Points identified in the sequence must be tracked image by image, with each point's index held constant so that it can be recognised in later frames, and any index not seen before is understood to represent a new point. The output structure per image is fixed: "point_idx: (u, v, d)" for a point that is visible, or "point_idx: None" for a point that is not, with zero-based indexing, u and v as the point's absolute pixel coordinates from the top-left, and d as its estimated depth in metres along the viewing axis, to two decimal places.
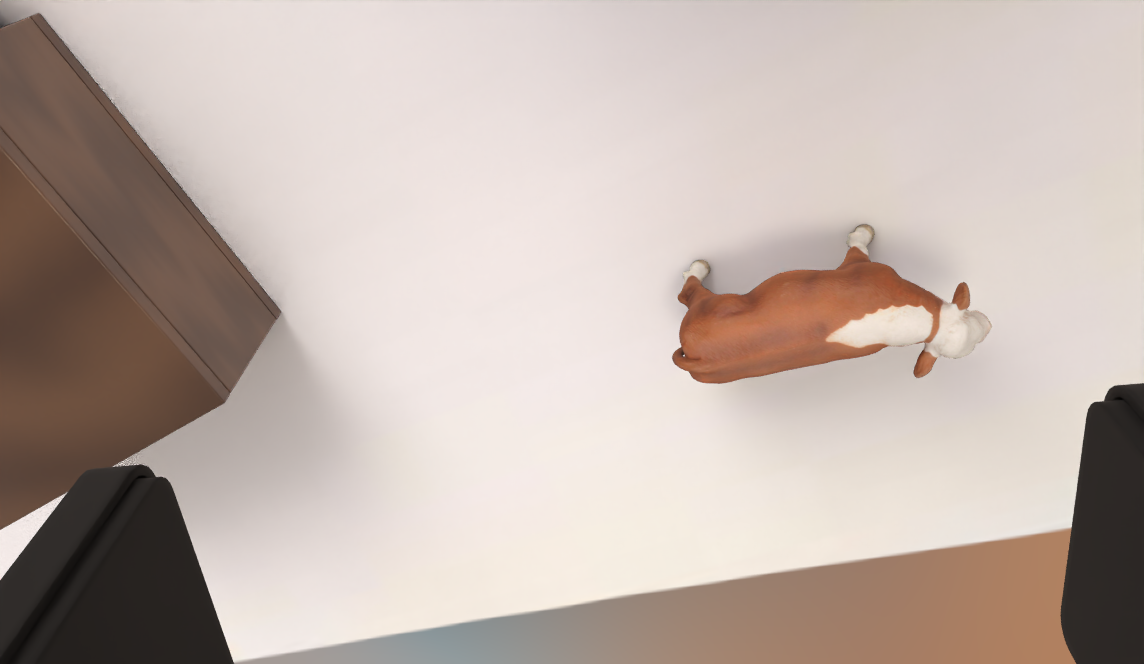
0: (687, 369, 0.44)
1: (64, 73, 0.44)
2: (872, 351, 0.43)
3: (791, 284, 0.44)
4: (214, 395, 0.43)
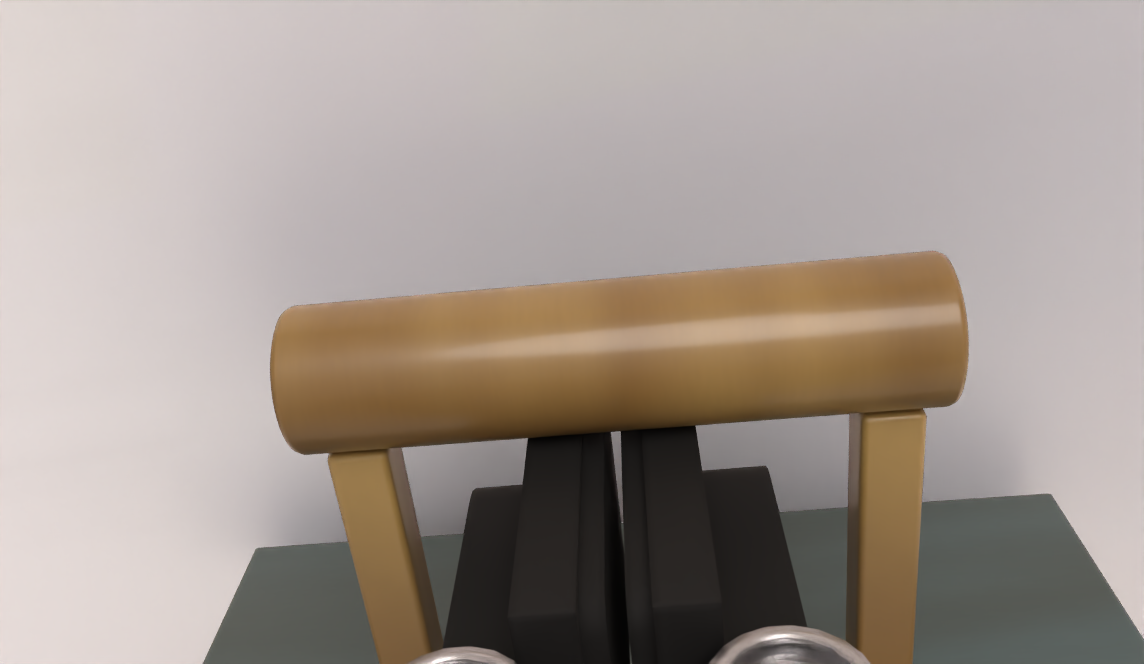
0: None
1: None
2: None
3: None
4: None
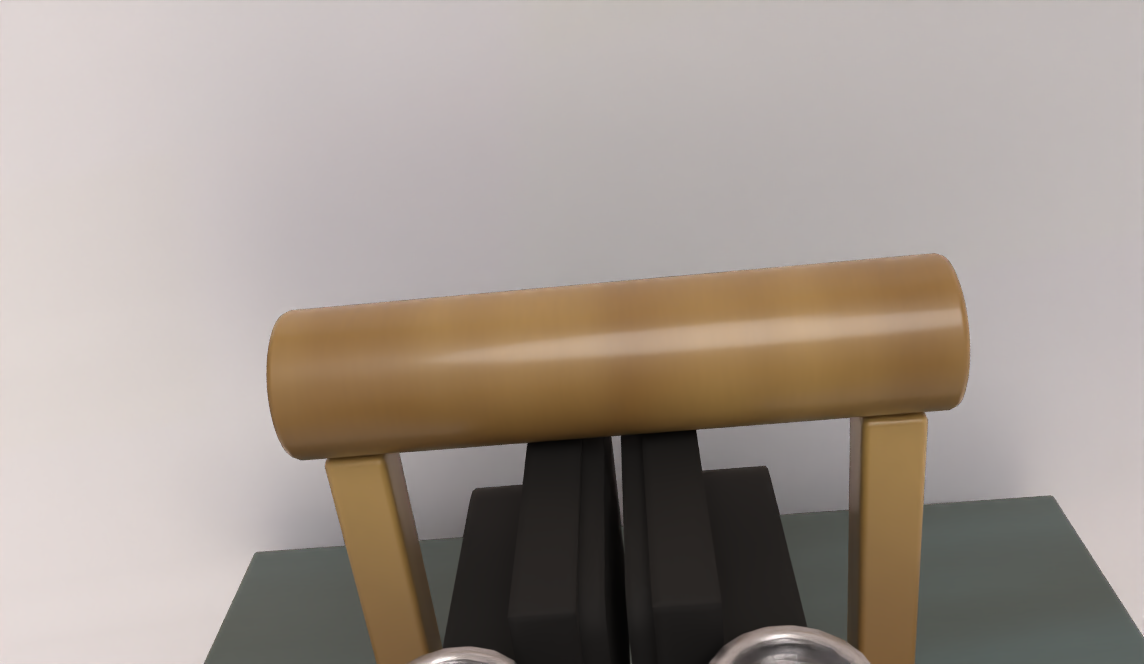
0: None
1: None
2: None
3: None
4: None
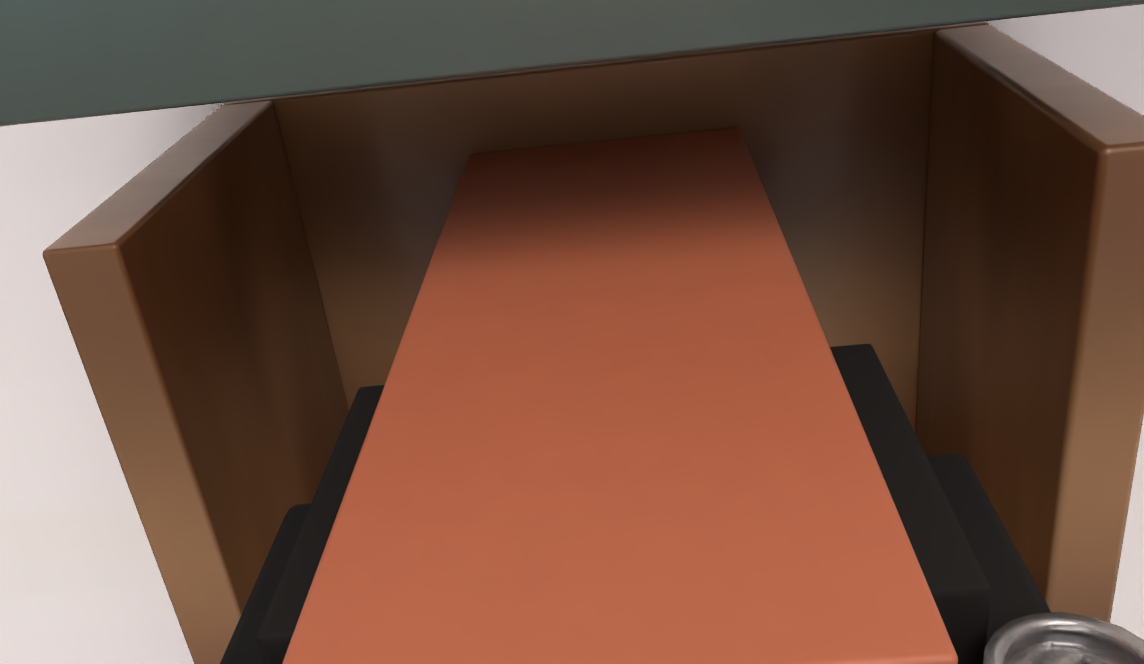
0: None
1: None
2: None
3: None
4: None
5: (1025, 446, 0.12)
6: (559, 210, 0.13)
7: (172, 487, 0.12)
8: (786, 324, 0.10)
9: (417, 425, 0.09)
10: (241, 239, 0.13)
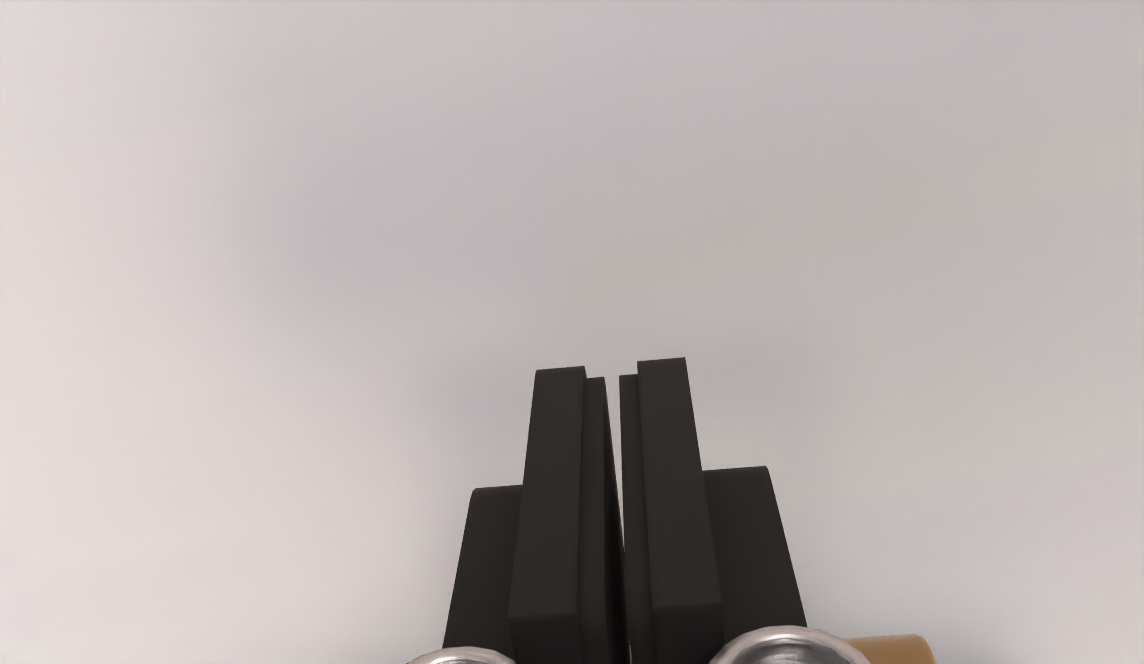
0: None
1: None
2: None
3: None
4: None
5: None
6: None
7: None
8: None
9: None
10: None
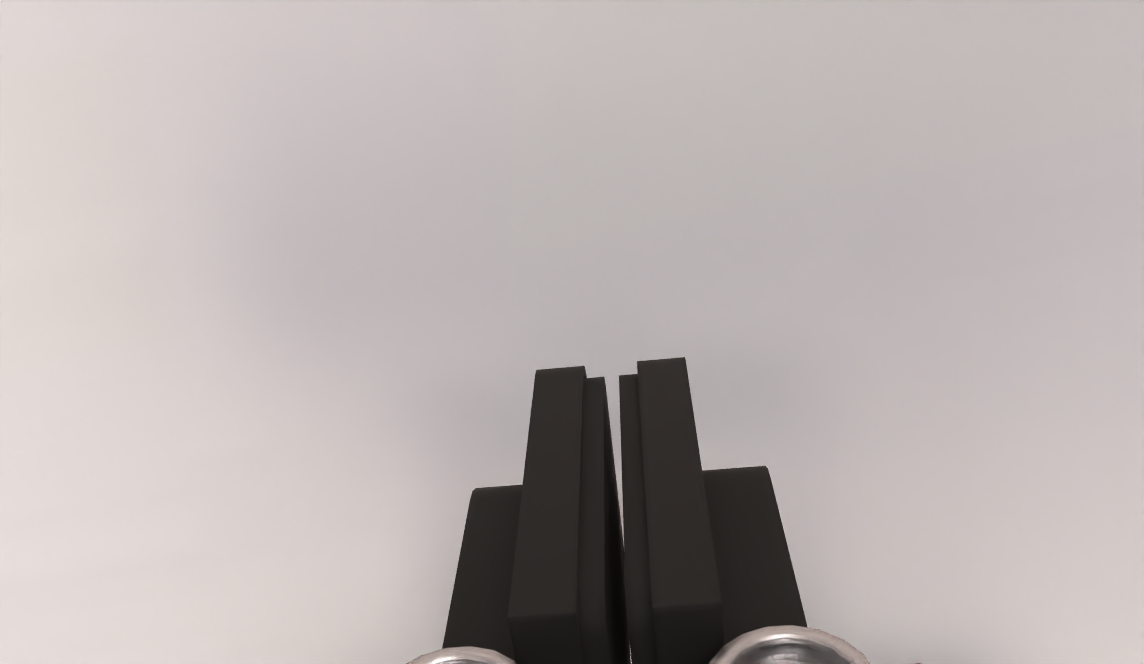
0: None
1: None
2: None
3: None
4: None
5: None
6: None
7: None
8: None
9: None
10: None
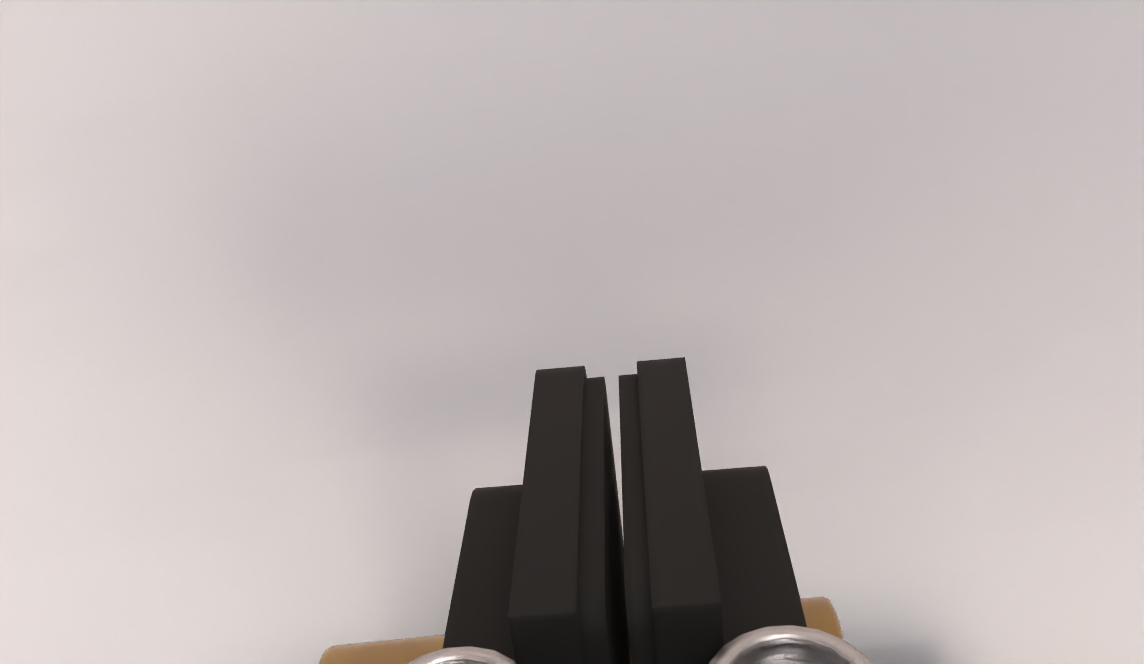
0: None
1: None
2: None
3: None
4: None
5: None
6: None
7: None
8: None
9: None
10: None
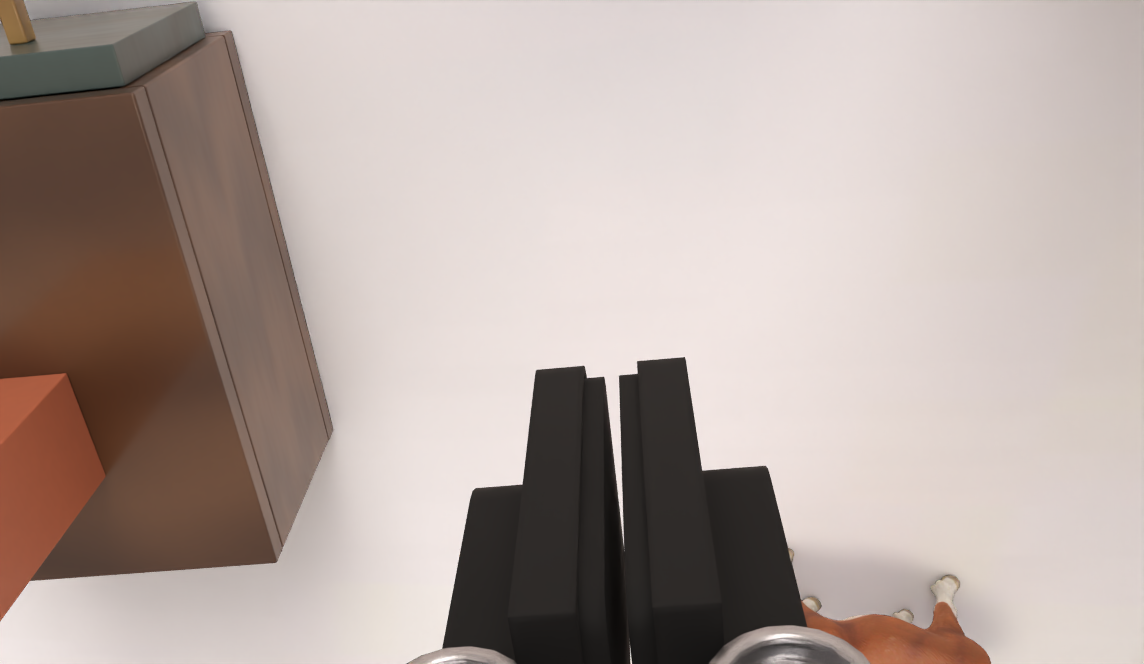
0: None
1: (236, 115, 0.36)
2: None
3: (897, 641, 0.41)
4: (269, 551, 0.36)
5: None
6: None
7: None
8: None
9: None
10: None
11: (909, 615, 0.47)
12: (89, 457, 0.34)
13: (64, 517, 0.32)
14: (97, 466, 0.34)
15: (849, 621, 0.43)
